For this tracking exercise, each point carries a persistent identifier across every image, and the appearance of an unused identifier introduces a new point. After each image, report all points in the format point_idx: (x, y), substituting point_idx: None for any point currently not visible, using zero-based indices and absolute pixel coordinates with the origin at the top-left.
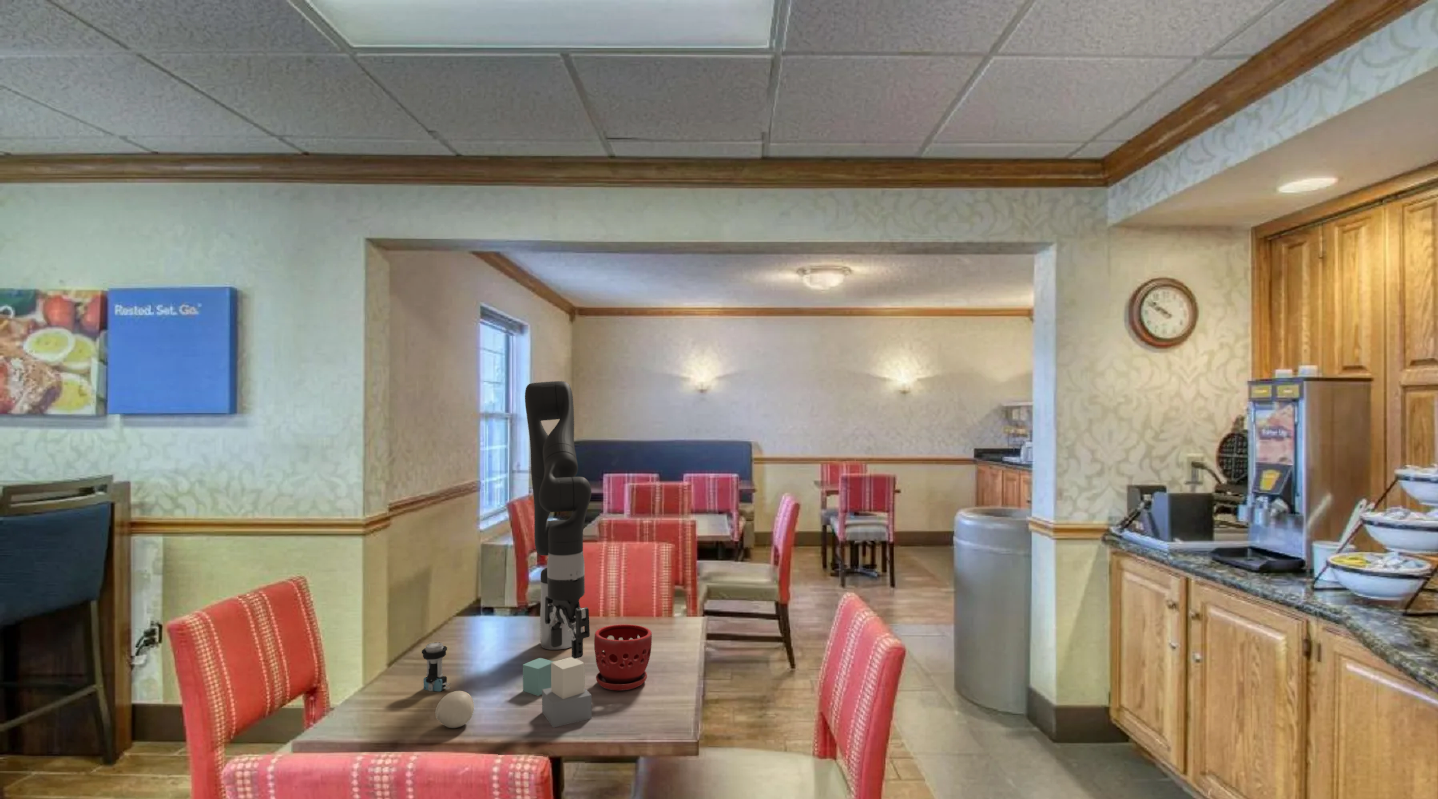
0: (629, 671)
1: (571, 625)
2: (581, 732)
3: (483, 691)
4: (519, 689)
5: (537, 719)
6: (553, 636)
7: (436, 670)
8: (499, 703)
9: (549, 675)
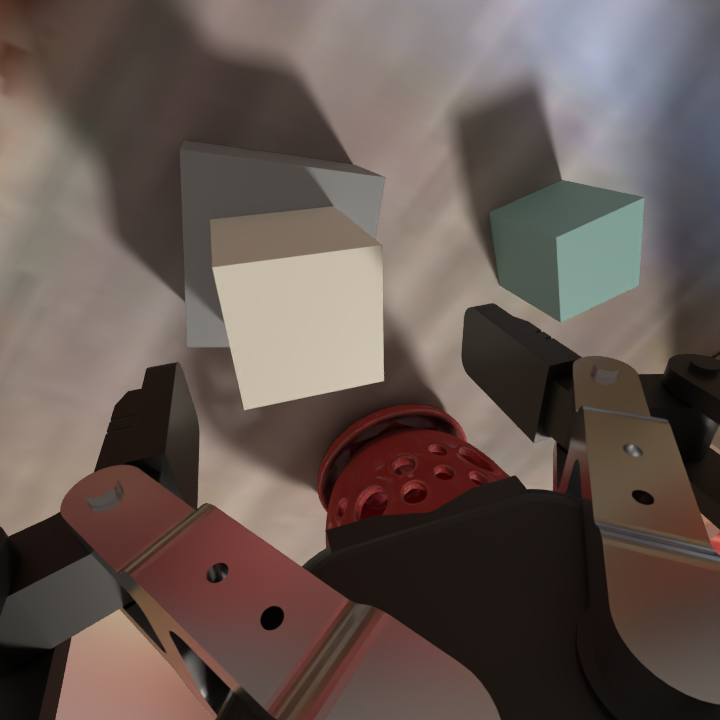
0: (329, 509)
1: (156, 612)
2: (70, 226)
3: (675, 41)
4: (582, 174)
5: (301, 116)
6: (513, 346)
7: None
8: (542, 44)
9: (529, 279)
